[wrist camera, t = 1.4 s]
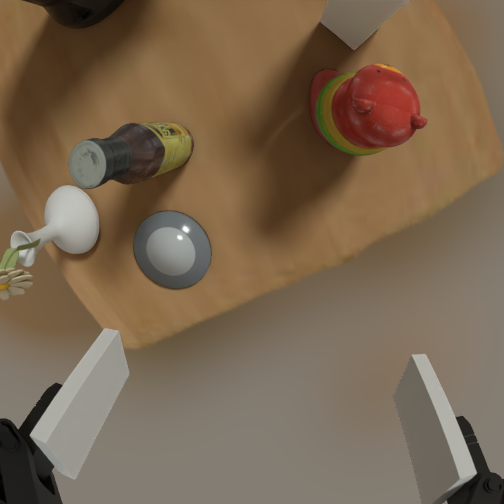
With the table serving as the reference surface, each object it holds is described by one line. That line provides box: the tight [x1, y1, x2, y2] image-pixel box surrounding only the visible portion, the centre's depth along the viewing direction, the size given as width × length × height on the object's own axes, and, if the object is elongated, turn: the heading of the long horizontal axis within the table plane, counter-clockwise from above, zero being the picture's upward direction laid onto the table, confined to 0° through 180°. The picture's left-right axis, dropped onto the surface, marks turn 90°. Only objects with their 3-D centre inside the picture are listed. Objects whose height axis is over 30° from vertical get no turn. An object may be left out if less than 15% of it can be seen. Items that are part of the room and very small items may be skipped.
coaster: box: [134, 211, 212, 288], centre depth 45 cm, size 12×12×1 cm
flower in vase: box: [0, 185, 99, 300], centre depth 33 cm, size 13×11×25 cm
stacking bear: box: [309, 64, 427, 155], centre depth 28 cm, size 11×10×18 cm
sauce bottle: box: [69, 123, 194, 189], centre depth 30 cm, size 6×6×20 cm
